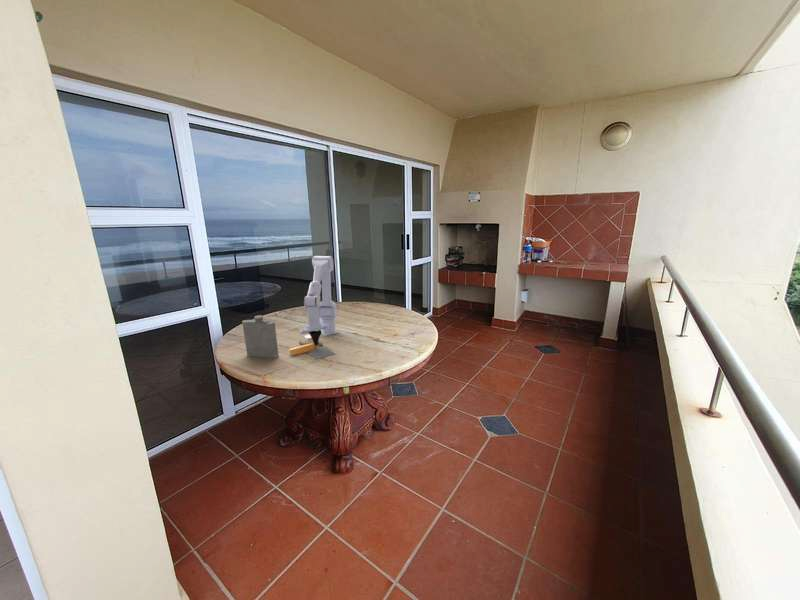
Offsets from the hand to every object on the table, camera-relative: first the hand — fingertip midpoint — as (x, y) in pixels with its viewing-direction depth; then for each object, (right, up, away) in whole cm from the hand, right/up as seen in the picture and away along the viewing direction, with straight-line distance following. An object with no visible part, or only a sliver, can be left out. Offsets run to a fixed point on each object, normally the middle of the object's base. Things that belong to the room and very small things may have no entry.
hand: (315, 344), depth 161 cm
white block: (-4, -1, +5) cm, 7 cm away
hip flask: (-24, -5, -7) cm, 25 cm away
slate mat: (+4, -4, -5) cm, 7 cm away
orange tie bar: (-6, -3, -3) cm, 7 cm away
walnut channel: (-4, -1, +5) cm, 7 cm away
